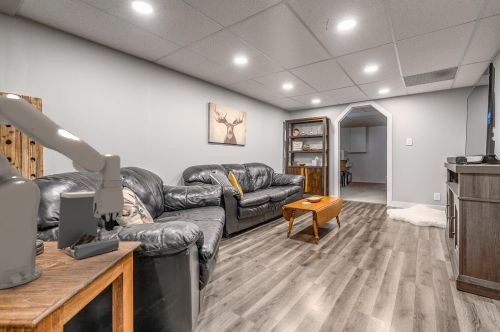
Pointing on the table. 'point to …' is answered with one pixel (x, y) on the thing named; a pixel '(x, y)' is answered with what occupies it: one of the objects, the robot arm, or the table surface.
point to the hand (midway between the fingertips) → (109, 230)
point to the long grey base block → (93, 248)
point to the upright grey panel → (75, 217)
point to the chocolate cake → (84, 240)
